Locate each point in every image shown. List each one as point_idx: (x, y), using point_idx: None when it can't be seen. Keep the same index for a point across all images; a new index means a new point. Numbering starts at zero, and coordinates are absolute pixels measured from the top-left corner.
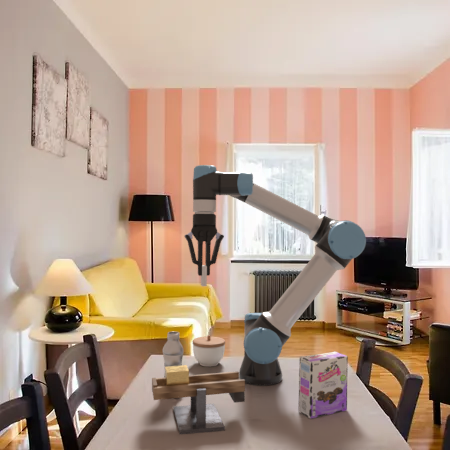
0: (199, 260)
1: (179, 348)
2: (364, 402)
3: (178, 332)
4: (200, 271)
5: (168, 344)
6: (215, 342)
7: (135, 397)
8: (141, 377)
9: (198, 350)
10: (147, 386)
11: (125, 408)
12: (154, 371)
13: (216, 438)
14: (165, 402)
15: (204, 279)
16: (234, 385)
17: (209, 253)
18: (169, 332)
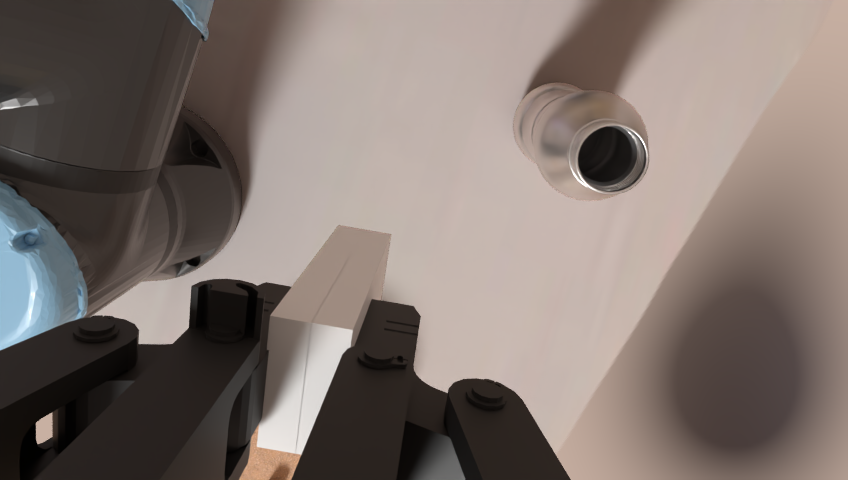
0: (392, 401)
1: (573, 100)
2: None
3: (576, 162)
4: (386, 326)
5: (635, 129)
6: (257, 436)
7: (691, 159)
8: (604, 360)
9: None
10: (612, 257)
11: (760, 62)
12: (536, 407)
13: None
14: (600, 68)
15: (351, 253)
16: None
17: (90, 451)
18: (627, 187)
